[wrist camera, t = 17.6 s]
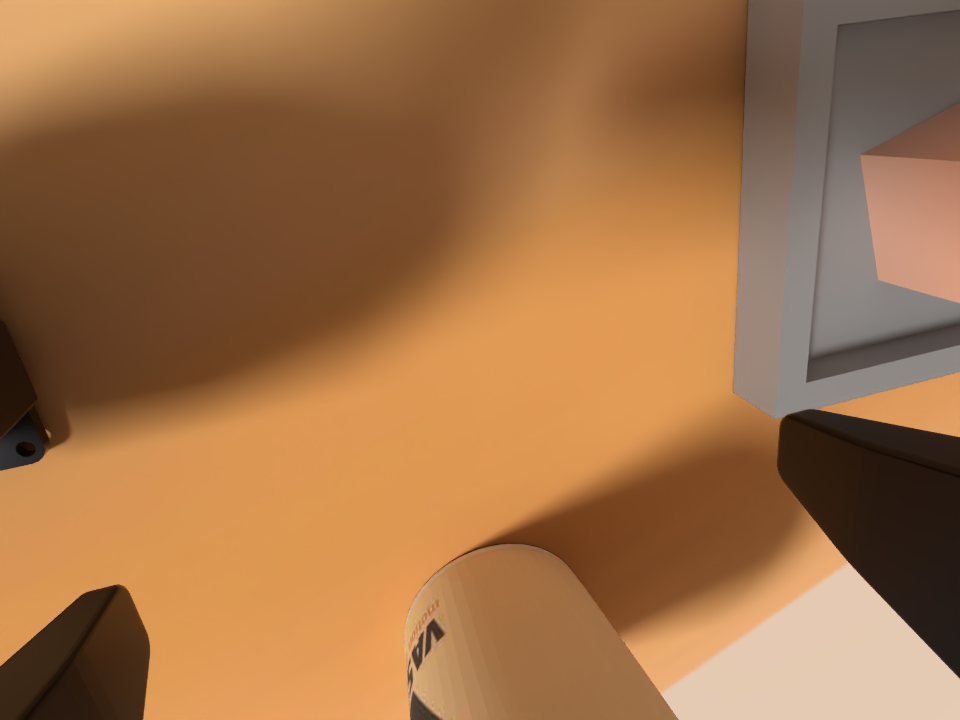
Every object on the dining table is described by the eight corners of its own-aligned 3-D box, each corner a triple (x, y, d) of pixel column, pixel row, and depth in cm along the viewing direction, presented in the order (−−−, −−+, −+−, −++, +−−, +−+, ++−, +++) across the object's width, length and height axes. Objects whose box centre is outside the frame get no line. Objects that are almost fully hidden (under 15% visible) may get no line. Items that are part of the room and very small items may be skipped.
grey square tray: (733, 392, 25) (775, 419, 23) (748, -3, 20) (805, -19, 18) (1012, 324, 28) (1074, 342, 26) (1093, -42, 22) (1181, -60, 20)
